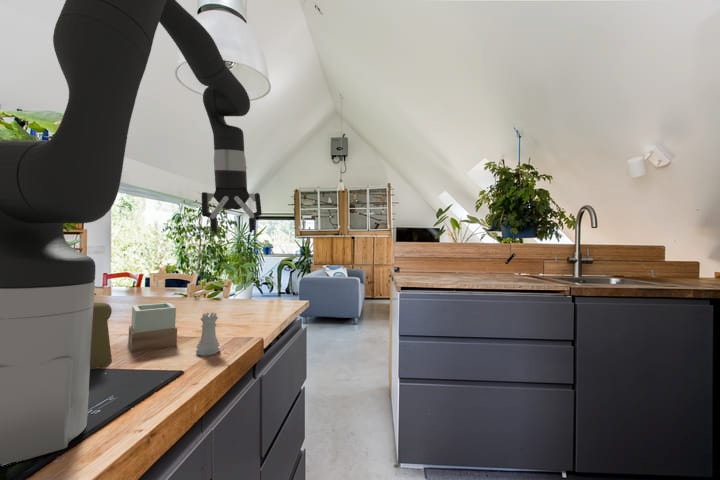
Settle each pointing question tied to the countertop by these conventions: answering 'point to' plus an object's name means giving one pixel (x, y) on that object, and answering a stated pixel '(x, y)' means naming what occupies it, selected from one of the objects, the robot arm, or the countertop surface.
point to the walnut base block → (152, 339)
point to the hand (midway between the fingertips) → (233, 232)
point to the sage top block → (153, 317)
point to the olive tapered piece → (100, 336)
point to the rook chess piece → (208, 336)
